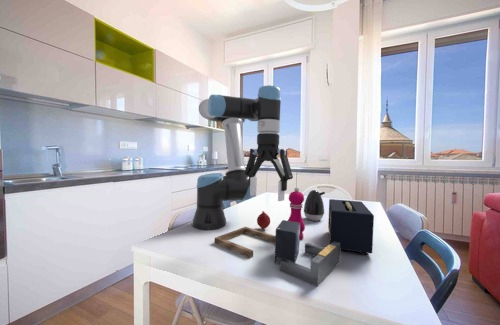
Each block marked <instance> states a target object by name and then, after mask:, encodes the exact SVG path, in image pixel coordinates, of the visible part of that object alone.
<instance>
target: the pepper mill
mask: <svg viewBox="0 0 500 325" xmlns="http://www.w3.org/2000/svg"><path fill="white" fill-rule="evenodd" d="M288 200H289V202H290V203H289V208H290V215H289V217H288V220H287V221H292V222H298V223H300V241H302V240H303V239H304V233H303V232H304V231H305V229H306V225H305V222H304V219H303V216H302V209H304V204H303V202H305V196H304V194H303V193H302V192H301V191H300V188H299V187H294V191H292V192H290V193H289V195H288Z"/></svg>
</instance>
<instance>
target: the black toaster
mask: <svg viewBox="0 0 500 325" xmlns="http://www.w3.org/2000/svg"><path fill="white" fill-rule="evenodd" d="M374 220H375V215H374V214H373V212H372V211H370V209H369V208H368V207H367V206H366V205H365V204H364V203H363V202H362V201H359V200H345V199H334V198H329V199H328V222H327V223H328V224H327V225H328V237H329V245H330V244H331V243H333V242H334V241H335V242H339V243H341V247H340V250H346V251H351V252H359V253H360V254H362V255H367V254H372V253H373V245H374V243H373V242H374V222H375V221H374Z"/></svg>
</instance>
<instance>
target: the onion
mask: <svg viewBox="0 0 500 325" xmlns="http://www.w3.org/2000/svg"><path fill="white" fill-rule="evenodd" d="M256 223H257V226H259V227H260V228H261V229H262V230H265V229H267V228H268V227H269V226H270V224H271V218H270V216H269V215H268V213H266V212H265V211H264V210H262V212H261V213H260V214H259V215H258V216H257V218H256Z"/></svg>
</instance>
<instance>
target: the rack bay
mask: <svg viewBox="0 0 500 325" xmlns="http://www.w3.org/2000/svg"><path fill="white" fill-rule="evenodd" d="M340 247H341V243H339V242H335V241H334V242H333V243H331V244H330V243H329V244H328V245H327V246H326V247H323V246H319V245H316V244H313V243H309V242H306V243H304V253H305V254H307V255H309V256H310V255H311V256H313V258H312V259H311V260H310V268H309V267H307V266H304V265H301V264H299V263H296V262H295V263H294V262H291V261H288V260H286V259H282V260H280V264H279V265H280V266H279V271H280V272H281V273H284V274H286V275H289V276H291V277H294V278H295V279H298V280H301V281H303V282H305V283H308V284H310V285H313V286H315V287H319V286H320V284H322V282H323V281H324V280H326V278H327V277H328V276H330V274H331V272H332V271H333V270H334V269H335V268H336V267H337V266H338V265H339V264H340V262H341V249H340Z"/></svg>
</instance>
